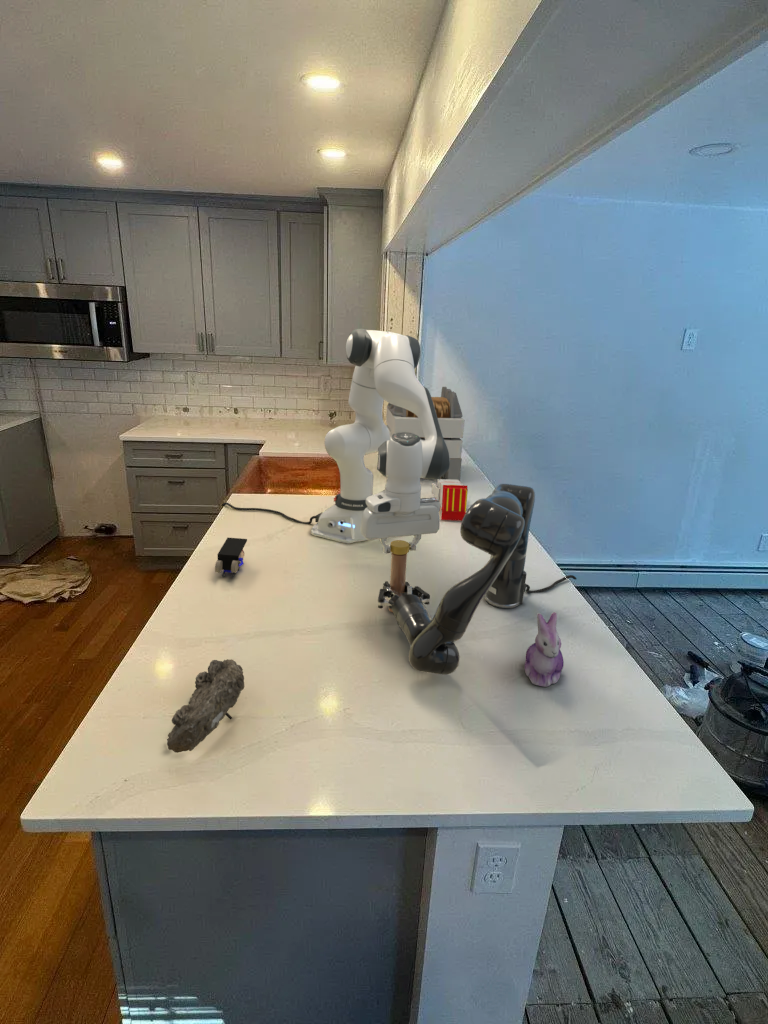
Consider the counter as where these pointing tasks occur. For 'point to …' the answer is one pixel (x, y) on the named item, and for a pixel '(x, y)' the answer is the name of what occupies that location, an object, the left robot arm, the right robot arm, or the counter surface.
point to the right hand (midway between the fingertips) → (394, 583)
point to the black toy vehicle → (230, 556)
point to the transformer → (448, 422)
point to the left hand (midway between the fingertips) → (399, 551)
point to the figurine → (545, 653)
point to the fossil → (206, 705)
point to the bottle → (398, 573)
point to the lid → (399, 547)
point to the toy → (451, 498)
